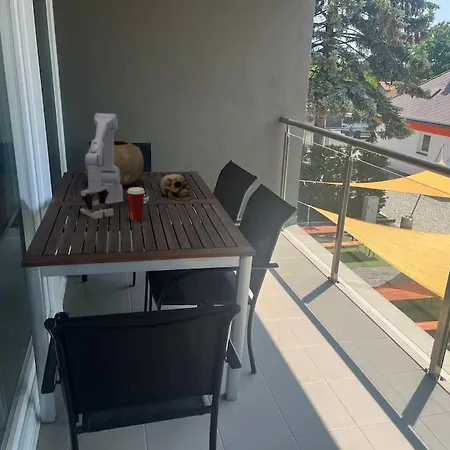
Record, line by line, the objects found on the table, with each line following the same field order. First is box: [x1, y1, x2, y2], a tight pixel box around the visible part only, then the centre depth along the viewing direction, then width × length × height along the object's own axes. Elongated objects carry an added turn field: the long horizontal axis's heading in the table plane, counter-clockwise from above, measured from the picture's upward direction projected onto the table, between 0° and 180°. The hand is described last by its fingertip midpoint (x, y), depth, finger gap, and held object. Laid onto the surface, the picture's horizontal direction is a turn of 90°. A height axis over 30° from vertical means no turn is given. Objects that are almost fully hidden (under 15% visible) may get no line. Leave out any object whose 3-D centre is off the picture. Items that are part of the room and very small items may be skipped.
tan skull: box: [159, 173, 192, 202], centre depth 243 cm, size 16×17×13 cm
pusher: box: [92, 203, 108, 215], centre depth 205 cm, size 6×7×5 cm
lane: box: [80, 208, 114, 220], centre depth 209 cm, size 9×14×3 cm
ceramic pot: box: [83, 139, 145, 187], centre depth 263 cm, size 33×34×25 cm
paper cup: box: [126, 187, 146, 222], centre depth 202 cm, size 8×8×14 cm
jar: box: [86, 195, 100, 213], centre depth 209 cm, size 6×6×7 cm
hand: (96, 208), depth 209 cm, fingers open, 7 cm apart
